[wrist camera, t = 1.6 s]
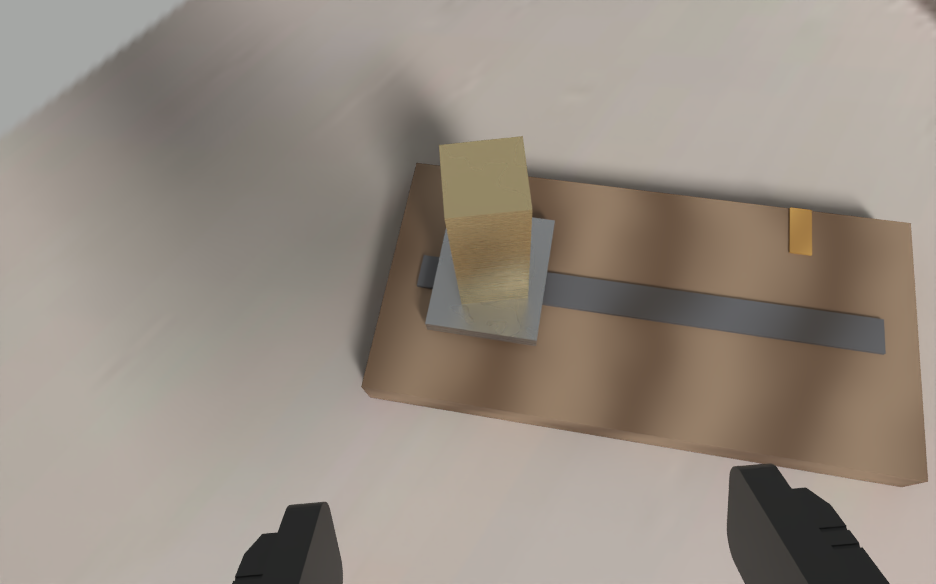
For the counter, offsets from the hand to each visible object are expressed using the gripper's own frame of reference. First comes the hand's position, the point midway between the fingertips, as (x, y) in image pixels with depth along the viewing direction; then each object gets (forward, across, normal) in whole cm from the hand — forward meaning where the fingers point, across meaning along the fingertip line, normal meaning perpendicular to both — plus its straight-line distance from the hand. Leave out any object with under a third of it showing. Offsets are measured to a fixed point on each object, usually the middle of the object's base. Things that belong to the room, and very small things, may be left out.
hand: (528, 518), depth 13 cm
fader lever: (+19, 0, +2) cm, 19 cm away
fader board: (+19, -7, +5) cm, 21 cm away
